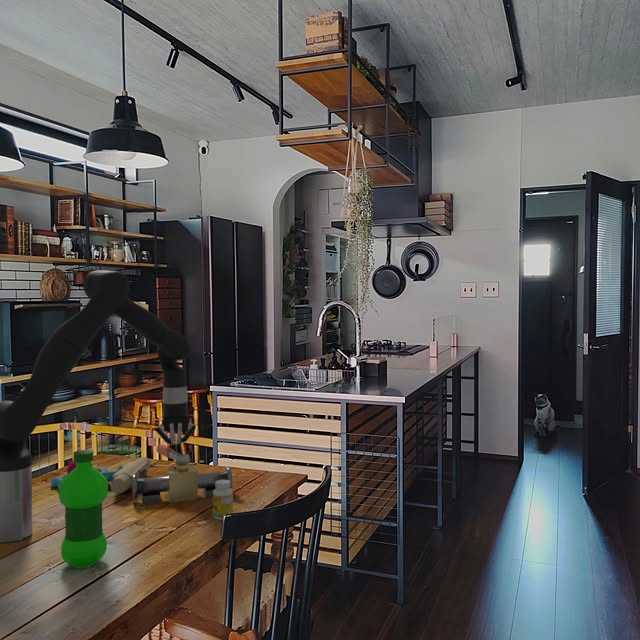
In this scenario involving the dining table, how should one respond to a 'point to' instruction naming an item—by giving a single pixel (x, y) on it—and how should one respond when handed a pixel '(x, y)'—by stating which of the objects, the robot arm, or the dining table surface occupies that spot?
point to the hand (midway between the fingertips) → (176, 455)
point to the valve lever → (173, 454)
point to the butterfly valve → (117, 475)
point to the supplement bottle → (222, 499)
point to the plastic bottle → (83, 512)
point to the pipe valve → (178, 484)
